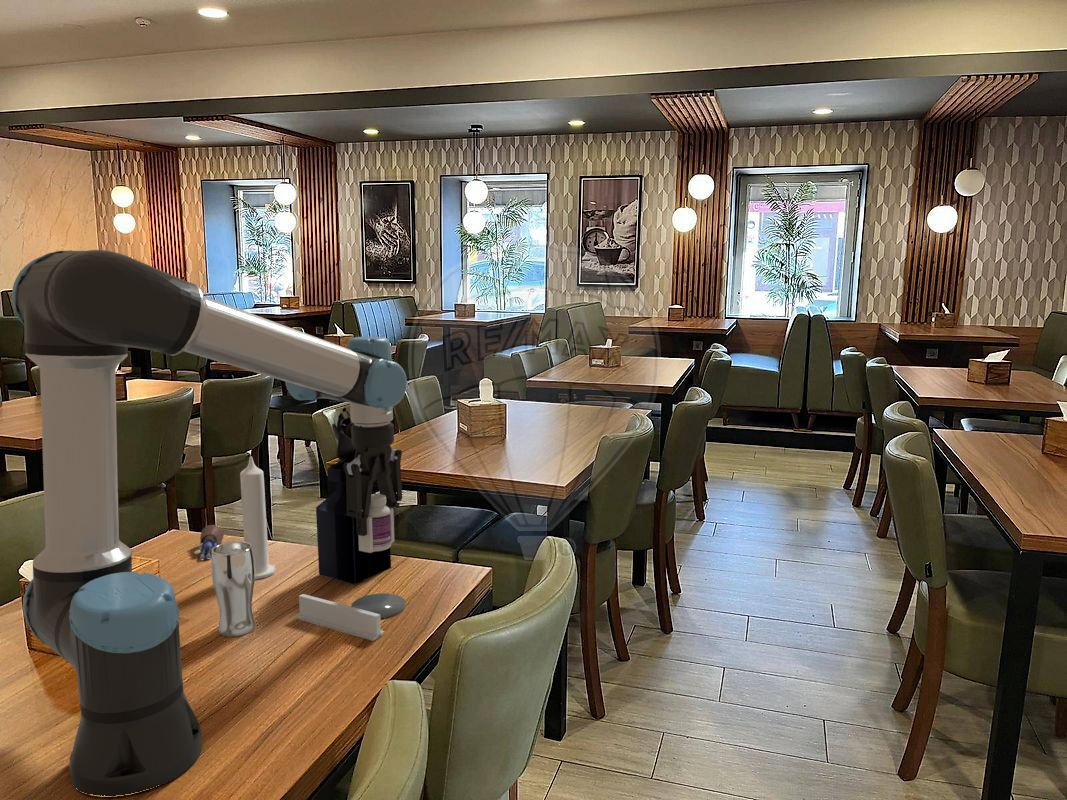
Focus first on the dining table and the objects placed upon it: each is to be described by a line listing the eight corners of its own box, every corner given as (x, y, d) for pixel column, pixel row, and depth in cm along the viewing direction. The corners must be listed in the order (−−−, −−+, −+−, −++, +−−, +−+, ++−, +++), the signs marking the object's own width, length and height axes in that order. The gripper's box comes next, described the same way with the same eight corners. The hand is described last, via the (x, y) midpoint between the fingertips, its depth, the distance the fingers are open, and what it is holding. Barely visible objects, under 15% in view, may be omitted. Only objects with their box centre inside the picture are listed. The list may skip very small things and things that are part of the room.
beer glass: (243, 640, 133) (238, 556, 130) (207, 636, 134) (201, 553, 132) (265, 622, 139) (260, 542, 137) (230, 618, 141) (225, 539, 138)
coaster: (382, 623, 139) (382, 620, 139) (339, 611, 144) (339, 608, 143) (416, 602, 148) (416, 599, 147) (375, 592, 152) (375, 589, 152)
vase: (361, 553, 173) (355, 398, 168) (400, 563, 167) (395, 403, 162) (312, 574, 161) (304, 408, 156) (353, 586, 155) (346, 414, 150)
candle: (268, 579, 158) (261, 460, 154) (234, 579, 159) (226, 460, 155) (280, 566, 165) (274, 452, 161) (247, 566, 166) (240, 452, 161)
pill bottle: (397, 545, 145) (396, 495, 143) (377, 554, 140) (375, 502, 138) (376, 540, 147) (374, 491, 146) (356, 548, 143) (354, 498, 141)
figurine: (219, 566, 170) (226, 540, 182) (217, 545, 169) (224, 520, 180) (193, 569, 169) (201, 542, 180) (190, 548, 168) (199, 522, 179)
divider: (373, 641, 132) (372, 618, 132) (295, 618, 141) (294, 597, 140) (384, 633, 135) (384, 612, 134) (308, 612, 143) (306, 591, 143)
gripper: (353, 434, 130) (359, 566, 134) (420, 416, 146) (423, 534, 150) (320, 429, 134) (326, 558, 138) (388, 412, 150) (392, 528, 153)
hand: (376, 545), depth 144 cm, fingers closed on pill bottle, 5 cm apart
